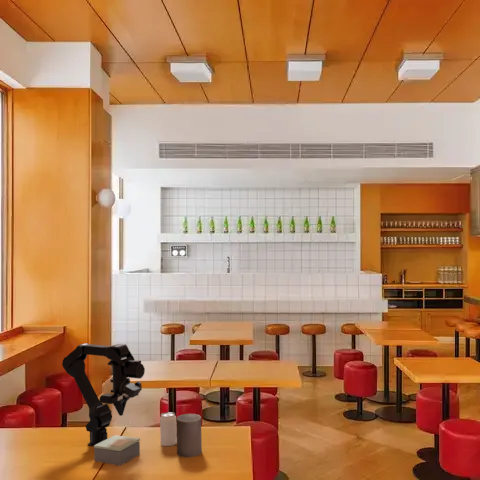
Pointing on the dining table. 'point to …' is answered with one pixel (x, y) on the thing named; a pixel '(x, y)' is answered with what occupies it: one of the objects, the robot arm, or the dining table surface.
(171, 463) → the dining table surface
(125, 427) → the dining table surface
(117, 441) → the lid
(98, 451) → the storage box
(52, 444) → the dining table surface
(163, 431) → the can
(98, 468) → the dining table surface
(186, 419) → the pillar candle
